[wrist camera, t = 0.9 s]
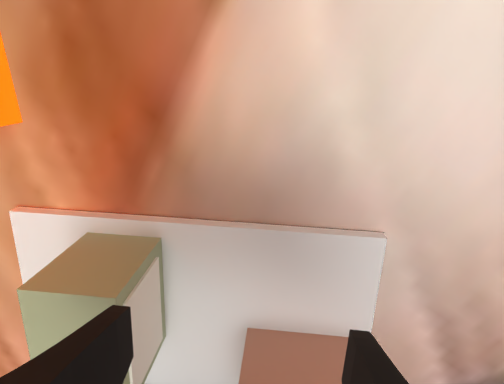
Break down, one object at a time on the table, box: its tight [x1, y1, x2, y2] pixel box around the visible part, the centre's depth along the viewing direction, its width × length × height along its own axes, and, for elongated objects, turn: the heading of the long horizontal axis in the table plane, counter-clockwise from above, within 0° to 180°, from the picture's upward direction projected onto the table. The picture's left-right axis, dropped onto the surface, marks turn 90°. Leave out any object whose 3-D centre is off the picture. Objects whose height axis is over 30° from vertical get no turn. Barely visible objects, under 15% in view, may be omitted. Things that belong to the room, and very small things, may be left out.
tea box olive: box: [17, 232, 166, 384], centre depth 20 cm, size 5×7×6 cm
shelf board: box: [9, 206, 387, 384], centre depth 23 cm, size 13×22×2 cm, turn 88°
